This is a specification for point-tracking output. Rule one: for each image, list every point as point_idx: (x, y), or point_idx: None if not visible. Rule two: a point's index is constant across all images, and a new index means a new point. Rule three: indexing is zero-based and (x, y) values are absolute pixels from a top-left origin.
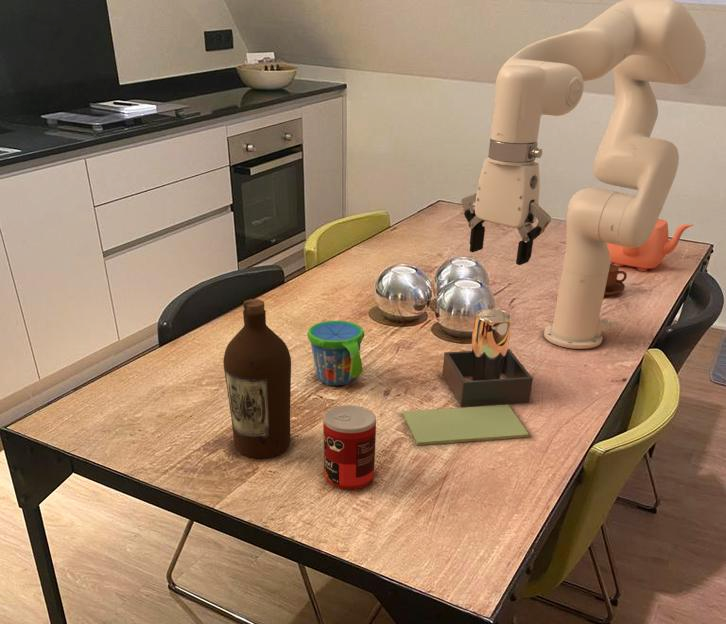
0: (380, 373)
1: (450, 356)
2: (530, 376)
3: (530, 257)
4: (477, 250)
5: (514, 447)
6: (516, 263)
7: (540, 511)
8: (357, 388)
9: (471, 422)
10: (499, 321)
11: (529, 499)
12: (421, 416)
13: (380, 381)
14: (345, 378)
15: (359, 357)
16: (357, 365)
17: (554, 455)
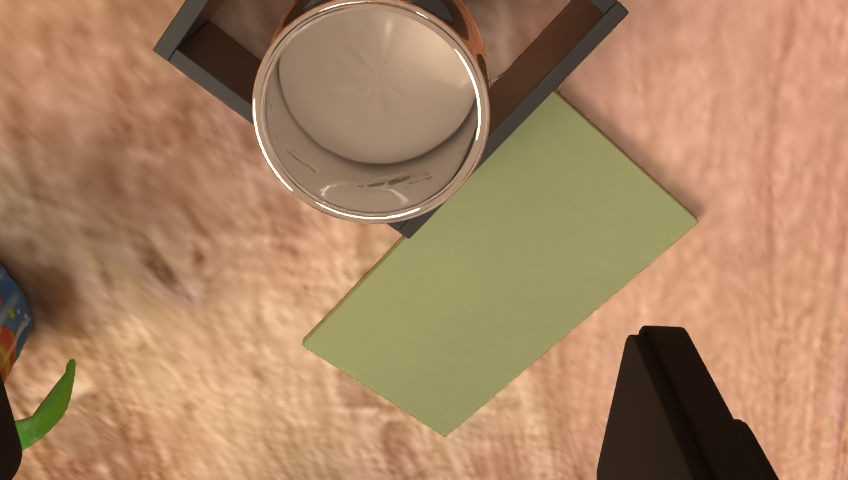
0: (18, 171)
1: (186, 37)
2: (610, 2)
3: (739, 419)
4: (4, 394)
5: (677, 289)
6: (597, 472)
7: (832, 465)
8: (71, 303)
9: (507, 274)
10: (458, 185)
11: (795, 446)
12: (363, 336)
13: (75, 219)
14: (24, 339)
15: (46, 416)
16: (62, 405)
17: (802, 255)
